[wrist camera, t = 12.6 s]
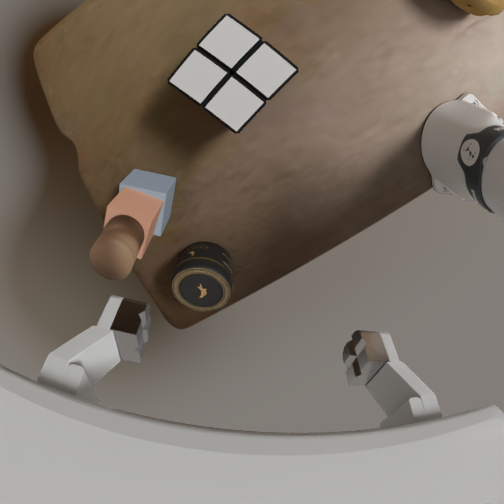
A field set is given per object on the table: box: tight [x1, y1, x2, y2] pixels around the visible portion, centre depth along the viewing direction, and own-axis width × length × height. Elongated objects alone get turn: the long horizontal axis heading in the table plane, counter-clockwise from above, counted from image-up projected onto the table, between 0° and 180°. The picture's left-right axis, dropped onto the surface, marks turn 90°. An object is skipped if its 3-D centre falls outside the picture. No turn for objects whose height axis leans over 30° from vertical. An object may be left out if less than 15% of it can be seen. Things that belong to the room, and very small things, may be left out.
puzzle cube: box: [168, 14, 298, 133], centre depth 30 cm, size 10×10×10 cm
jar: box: [171, 242, 234, 311], centre depth 49 cm, size 10×10×8 cm
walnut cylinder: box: [89, 215, 145, 280], centre depth 32 cm, size 5×5×6 cm
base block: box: [119, 169, 177, 236], centre depth 42 cm, size 7×7×6 cm
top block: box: [103, 186, 164, 259], centre depth 37 cm, size 6×6×6 cm
